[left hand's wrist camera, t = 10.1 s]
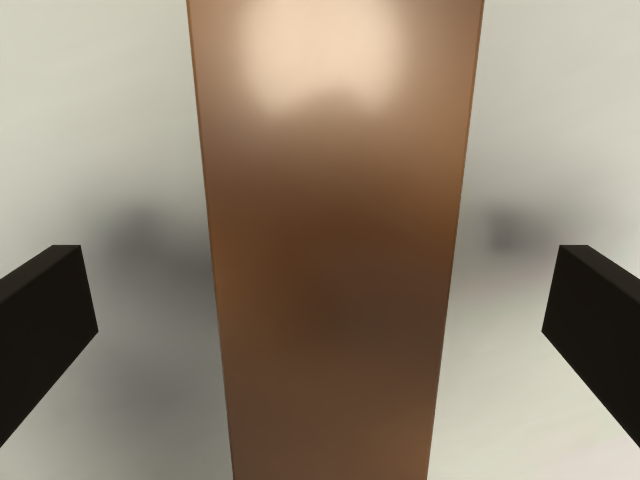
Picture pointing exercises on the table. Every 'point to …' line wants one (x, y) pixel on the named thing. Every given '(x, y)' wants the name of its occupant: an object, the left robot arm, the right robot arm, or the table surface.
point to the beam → (332, 222)
